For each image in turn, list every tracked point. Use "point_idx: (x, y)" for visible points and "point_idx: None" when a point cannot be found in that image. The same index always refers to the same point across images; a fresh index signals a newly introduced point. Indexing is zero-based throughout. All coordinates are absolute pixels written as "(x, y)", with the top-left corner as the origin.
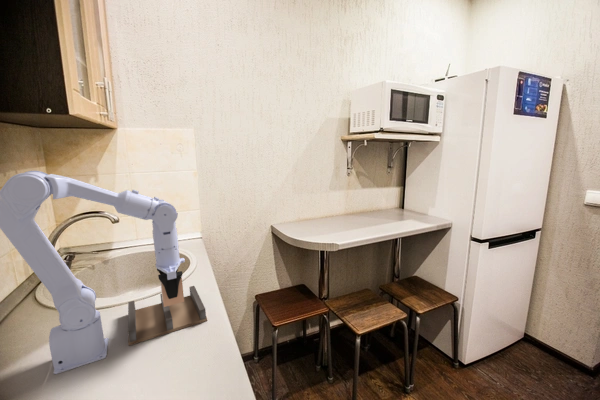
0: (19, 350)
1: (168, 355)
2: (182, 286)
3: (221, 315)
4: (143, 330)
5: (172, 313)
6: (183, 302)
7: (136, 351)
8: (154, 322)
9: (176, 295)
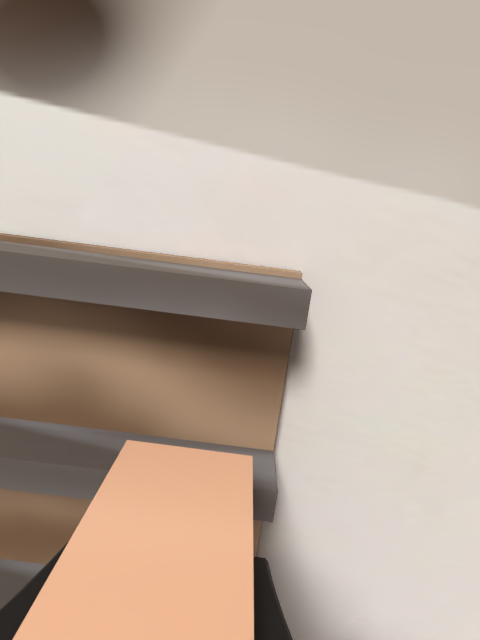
0: None
1: (428, 496)
2: (252, 581)
3: (296, 172)
4: None
5: (113, 417)
6: (16, 332)
7: (302, 581)
8: None
9: (271, 579)
